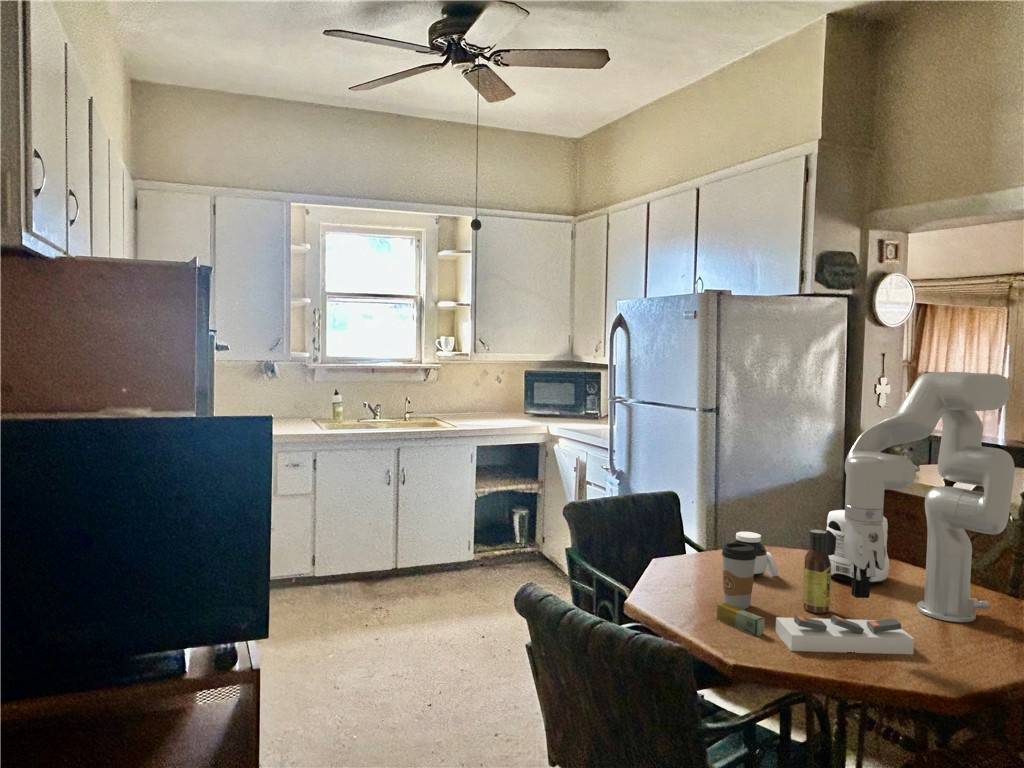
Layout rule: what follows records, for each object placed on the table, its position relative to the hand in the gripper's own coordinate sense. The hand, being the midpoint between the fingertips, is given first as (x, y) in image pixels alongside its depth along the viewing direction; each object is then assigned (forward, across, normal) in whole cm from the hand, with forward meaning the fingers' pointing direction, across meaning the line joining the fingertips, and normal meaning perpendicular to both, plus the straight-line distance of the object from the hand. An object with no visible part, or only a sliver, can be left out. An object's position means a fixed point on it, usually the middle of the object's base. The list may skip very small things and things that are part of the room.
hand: (860, 596), depth 158 cm
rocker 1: (+6, 0, +11) cm, 12 cm away
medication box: (+12, +10, +23) cm, 28 cm away
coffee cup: (+11, +24, +20) cm, 33 cm away
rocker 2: (+6, 0, -5) cm, 8 cm away
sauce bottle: (+12, +22, +1) cm, 25 cm away
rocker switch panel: (+11, +2, +3) cm, 12 cm away
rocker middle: (+6, 0, +3) cm, 7 cm away
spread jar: (+12, +49, +8) cm, 51 cm away
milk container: (+12, +48, -20) cm, 53 cm away
